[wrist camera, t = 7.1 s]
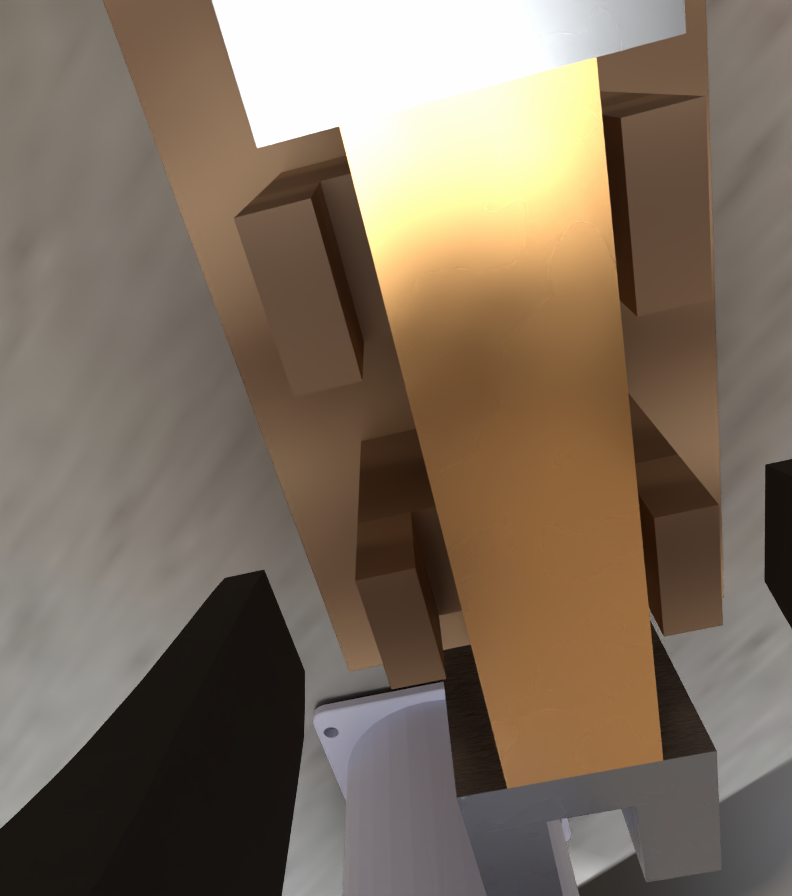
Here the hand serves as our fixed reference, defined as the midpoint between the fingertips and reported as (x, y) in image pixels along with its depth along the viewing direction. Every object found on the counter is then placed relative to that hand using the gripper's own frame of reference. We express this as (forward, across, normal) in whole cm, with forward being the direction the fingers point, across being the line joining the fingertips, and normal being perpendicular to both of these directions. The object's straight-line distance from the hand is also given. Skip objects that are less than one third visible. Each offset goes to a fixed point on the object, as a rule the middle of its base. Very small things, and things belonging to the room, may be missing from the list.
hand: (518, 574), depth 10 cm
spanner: (+5, 0, 0) cm, 5 cm away
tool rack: (+10, -1, 0) cm, 10 cm away
